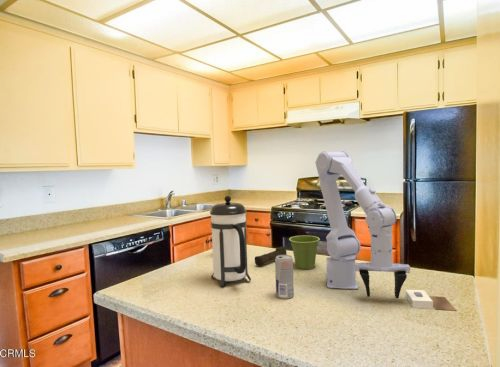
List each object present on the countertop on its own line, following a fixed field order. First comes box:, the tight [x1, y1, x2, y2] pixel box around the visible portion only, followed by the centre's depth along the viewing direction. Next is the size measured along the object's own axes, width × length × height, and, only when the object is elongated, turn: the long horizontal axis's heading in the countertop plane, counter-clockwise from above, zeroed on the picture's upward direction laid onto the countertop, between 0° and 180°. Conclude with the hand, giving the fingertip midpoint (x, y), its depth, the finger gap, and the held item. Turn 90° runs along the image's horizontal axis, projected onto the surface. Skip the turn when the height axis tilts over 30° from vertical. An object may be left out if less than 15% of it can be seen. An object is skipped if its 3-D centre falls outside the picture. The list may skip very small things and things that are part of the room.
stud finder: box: [404, 288, 434, 310], centre depth 91 cm, size 5×8×3 cm, turn 168°
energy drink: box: [274, 254, 295, 300], centre depth 99 cm, size 5×5×12 cm
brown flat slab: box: [428, 295, 457, 312], centre depth 90 cm, size 5×9×1 cm, turn 166°
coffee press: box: [209, 195, 252, 288], centre depth 113 cm, size 17×16×30 cm
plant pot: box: [288, 234, 321, 270], centre depth 127 cm, size 12×12×11 cm
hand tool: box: [254, 246, 288, 267], centre depth 136 cm, size 19×4×5 cm, turn 135°
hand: (382, 296), depth 93 cm, fingers open, 7 cm apart
